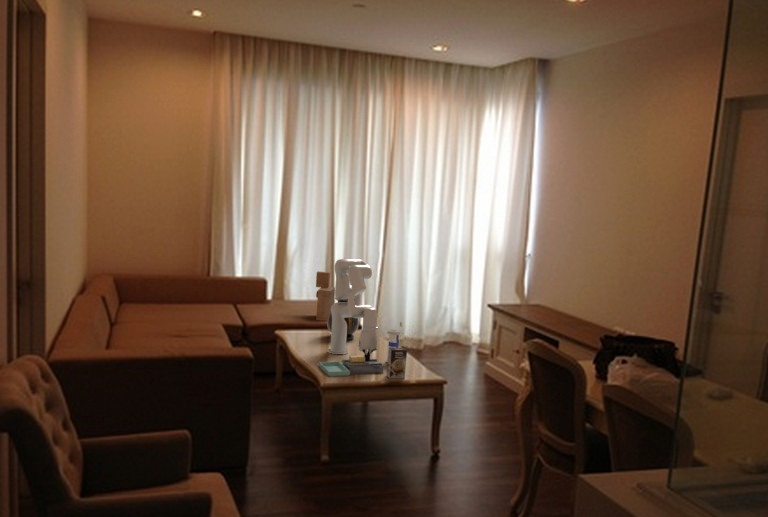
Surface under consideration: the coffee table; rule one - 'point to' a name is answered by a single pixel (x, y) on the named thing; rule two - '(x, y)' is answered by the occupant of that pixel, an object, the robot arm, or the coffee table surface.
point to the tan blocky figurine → (324, 296)
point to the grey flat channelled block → (363, 366)
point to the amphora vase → (351, 322)
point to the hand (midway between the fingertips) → (367, 360)
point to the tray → (334, 369)
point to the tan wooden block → (361, 359)
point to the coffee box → (396, 362)
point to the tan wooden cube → (353, 359)
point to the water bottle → (393, 340)
